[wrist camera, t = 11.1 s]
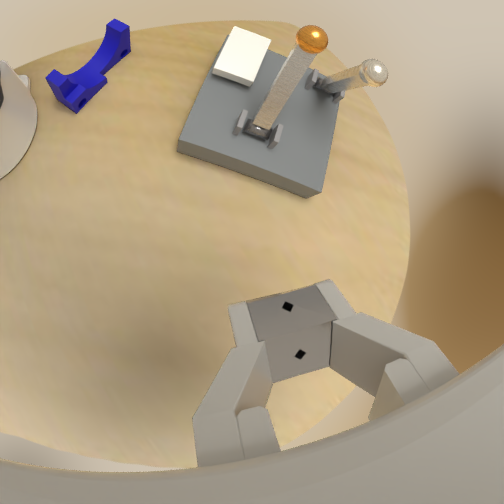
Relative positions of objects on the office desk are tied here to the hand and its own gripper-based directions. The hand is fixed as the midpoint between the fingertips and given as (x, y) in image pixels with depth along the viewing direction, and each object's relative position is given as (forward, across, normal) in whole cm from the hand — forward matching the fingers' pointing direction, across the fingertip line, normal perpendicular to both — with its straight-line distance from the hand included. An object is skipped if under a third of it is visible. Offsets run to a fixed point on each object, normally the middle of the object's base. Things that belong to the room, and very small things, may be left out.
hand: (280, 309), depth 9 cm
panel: (+35, -8, -2) cm, 36 cm away
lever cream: (+33, -17, -5) cm, 37 cm away
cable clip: (+37, +13, -13) cm, 41 cm away
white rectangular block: (+32, -6, -11) cm, 34 cm away
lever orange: (+28, -6, -1) cm, 29 cm away
